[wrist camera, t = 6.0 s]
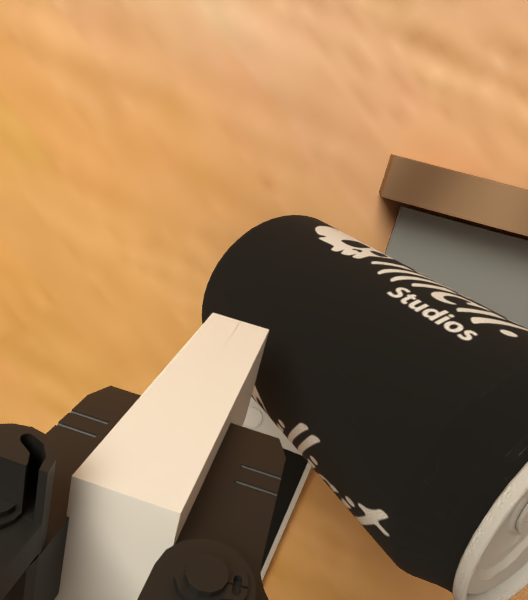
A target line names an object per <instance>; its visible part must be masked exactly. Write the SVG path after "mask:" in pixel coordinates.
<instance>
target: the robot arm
mask: <svg viewBox="0 0 528 600" xmlns="http://www.w3.org/2000/svg"><path fill="white" fill-rule="evenodd" d="M268 333H269V329H266V328H262V327H259V326H256V325H252V324H249V323H246V322H242V321H239V320H236V319H232V318H229V317H226V316H223V315H219V314H216V313H212V314H211V315H210V316H209V318H208V319H207V320H206V321H205V322H204V323H203V325H202V326H201V327H200V328H199V329H198V330H197V331H196V333H195V334H194V335H193V336H192V337H191V338H190V340H189V341H188V342H187V343H186V344H185V345H184V347H183V348H182V349H181V350H180V351H179V352H178V353H177V355H176V356H175V357H174V358H173V359H172V360H171V362H170V363H169V364H168V365H167V366H166V367H165V369H164V370H163V371H162V372H161V373H160V374H159V376H158V377H157V378H156V379H155V380H154V381H153V382H152V384H151V385H150V386H149V387H148V388H147V389H146V391H145V392H144V393H143V394H142V395H138V394H134V393H131V392H128V391H125V390H122V389H119V388H116V387H113V386H109V387H106V388H104V389H101V390H99V391H97V392H94V393H92V394H89V395H87V396H86V397H85V398H84V399H83V400H82V401H81V402H80V403H79V404H78V405H77V406H75V407H74V408H73V409H72V411H71V413H68V414H67V415H66V416H65V417H64V418H63V419H61V420H60V421H59V423H58V425H57V426H56V425H55V426H54V427H53V428H52V429H51V430H50V431H49V432H47V433H46V434H44V433H42V432H40V431H38V430H36V429H35V428H33V427H28V426H23V425H18V424H0V600H54V599H55V600H268V598H267V595H266V593H265V591H264V589H263V584H262V579H261V564H262V558H263V554H264V550H265V545H266V541H267V537H268V533H269V528H270V524H271V520H272V515H273V511H274V507H275V503H276V498H277V494H278V490H279V485H280V480H281V477H282V472H283V468H284V464H285V460H286V457H285V454H284V451H283V448H282V445H281V442H280V439H279V438H276V437H273V436H270V435H267V434H264V433H261V432H258V431H255V430H252V429H249V428H245V427H242V426H243V423H244V421H245V418H246V414H247V410H248V407H249V403H250V399H251V395H252V392H253V388H254V384H255V381H256V377H257V373H258V370H259V366H260V362H261V358H262V355H263V351H264V347H265V344H266V340H267V336H268Z"/></svg>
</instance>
